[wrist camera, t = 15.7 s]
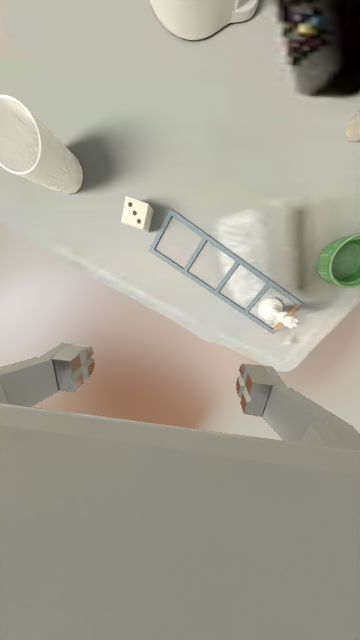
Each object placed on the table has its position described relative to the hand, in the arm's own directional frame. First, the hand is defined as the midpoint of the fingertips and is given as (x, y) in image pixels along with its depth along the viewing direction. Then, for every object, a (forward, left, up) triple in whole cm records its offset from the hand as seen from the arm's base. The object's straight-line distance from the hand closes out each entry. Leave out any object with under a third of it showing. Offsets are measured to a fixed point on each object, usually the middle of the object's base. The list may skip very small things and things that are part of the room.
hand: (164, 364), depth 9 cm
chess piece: (-6, +18, -29) cm, 35 cm away
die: (-6, -15, -29) cm, 33 cm away
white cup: (-5, -30, -29) cm, 42 cm away
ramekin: (-20, +22, -30) cm, 42 cm away
